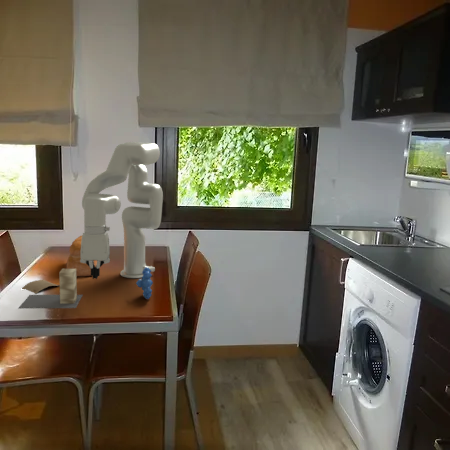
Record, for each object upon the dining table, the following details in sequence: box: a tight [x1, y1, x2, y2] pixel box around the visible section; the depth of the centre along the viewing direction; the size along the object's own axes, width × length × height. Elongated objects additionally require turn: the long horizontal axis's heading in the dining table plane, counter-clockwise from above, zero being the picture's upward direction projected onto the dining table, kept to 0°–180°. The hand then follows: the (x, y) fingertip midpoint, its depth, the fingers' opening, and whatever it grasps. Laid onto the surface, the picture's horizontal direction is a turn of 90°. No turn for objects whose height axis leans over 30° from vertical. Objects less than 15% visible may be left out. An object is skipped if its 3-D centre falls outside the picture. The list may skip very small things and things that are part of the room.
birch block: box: [58, 268, 78, 304], centre depth 164 cm, size 5×5×12 cm
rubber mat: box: [18, 294, 84, 309], centre depth 165 cm, size 20×14×1 cm
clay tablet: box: [21, 279, 60, 295], centre depth 179 cm, size 14×10×3 cm
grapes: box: [135, 267, 154, 300], centre depth 173 cm, size 12×7×12 cm, turn 14°
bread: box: [66, 235, 97, 277], centre depth 207 cm, size 14×26×15 cm, turn 8°
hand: (95, 277), depth 165 cm, fingers closed
